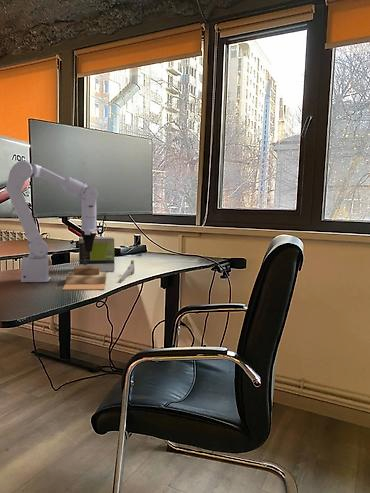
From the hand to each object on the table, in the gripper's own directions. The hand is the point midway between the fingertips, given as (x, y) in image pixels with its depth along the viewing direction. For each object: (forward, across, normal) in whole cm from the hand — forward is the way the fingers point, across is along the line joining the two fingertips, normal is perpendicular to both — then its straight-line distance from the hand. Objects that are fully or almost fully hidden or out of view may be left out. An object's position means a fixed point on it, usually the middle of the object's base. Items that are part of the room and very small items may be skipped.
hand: (88, 251), depth 156 cm
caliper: (+11, -1, -15) cm, 19 cm away
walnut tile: (+6, -8, 0) cm, 10 cm away
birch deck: (+10, -9, 0) cm, 14 cm away
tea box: (+11, +17, -2) cm, 20 cm away
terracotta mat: (+10, -19, 0) cm, 21 cm away
